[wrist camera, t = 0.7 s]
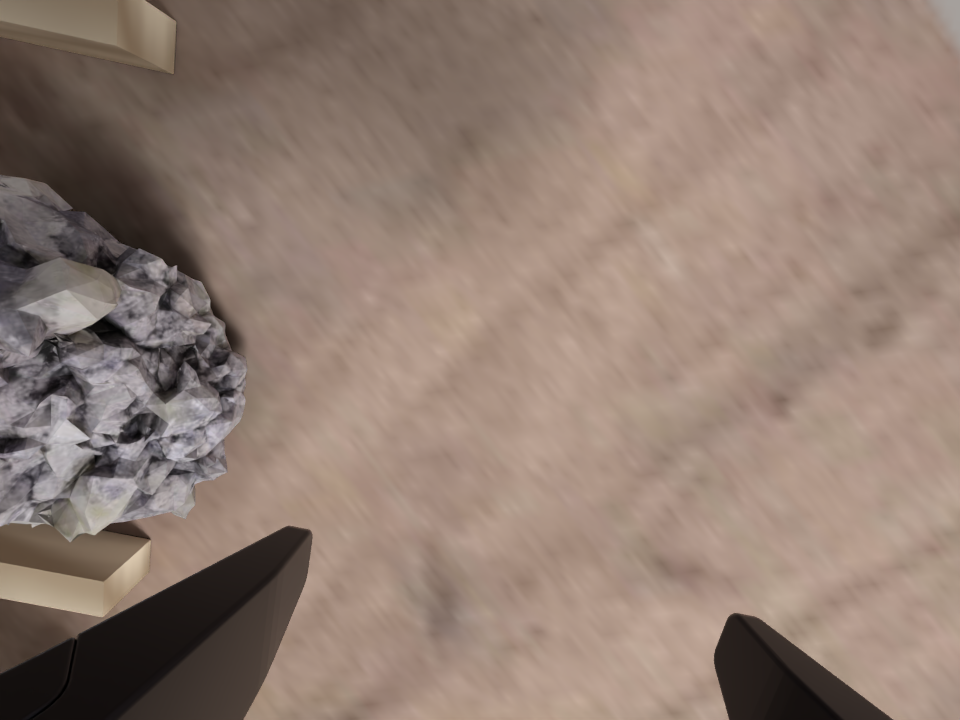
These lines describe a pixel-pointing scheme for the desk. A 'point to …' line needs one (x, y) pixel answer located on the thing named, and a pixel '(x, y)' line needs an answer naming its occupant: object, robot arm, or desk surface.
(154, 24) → the corridor walls
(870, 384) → the desk surface
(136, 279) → the mineral specimen
